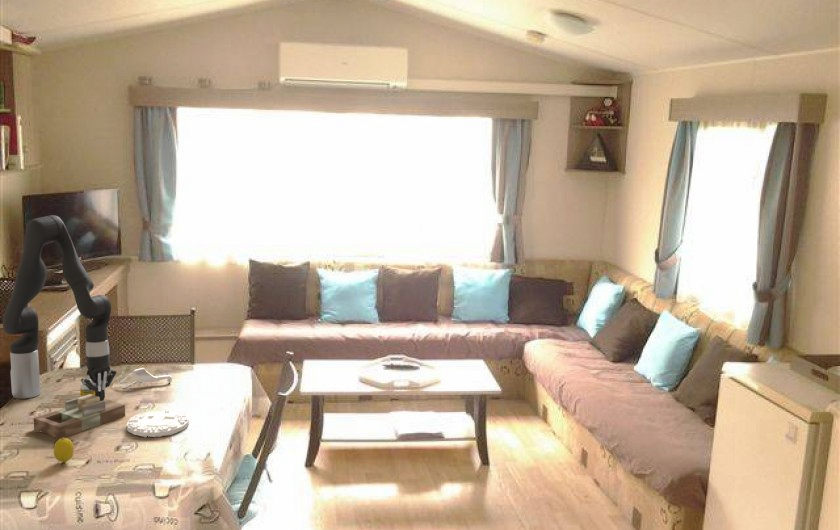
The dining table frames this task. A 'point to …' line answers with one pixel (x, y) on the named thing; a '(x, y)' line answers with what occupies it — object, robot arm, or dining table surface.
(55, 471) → the dining table surface
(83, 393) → the supplement bottle
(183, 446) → the dining table surface
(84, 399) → the maple block
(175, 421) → the white flat round disc
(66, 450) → the lemon
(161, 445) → the dining table surface
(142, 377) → the llama figurine
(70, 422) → the walnut deck
